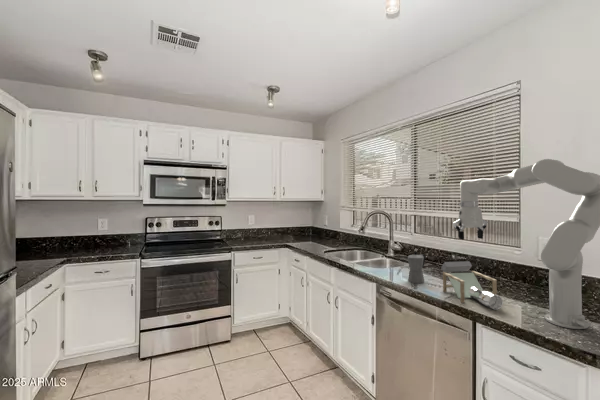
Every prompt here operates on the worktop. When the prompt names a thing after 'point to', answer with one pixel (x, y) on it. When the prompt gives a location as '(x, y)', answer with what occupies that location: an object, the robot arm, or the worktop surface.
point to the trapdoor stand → (494, 283)
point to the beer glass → (486, 298)
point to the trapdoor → (461, 276)
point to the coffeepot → (416, 268)
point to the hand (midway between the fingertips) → (470, 238)
